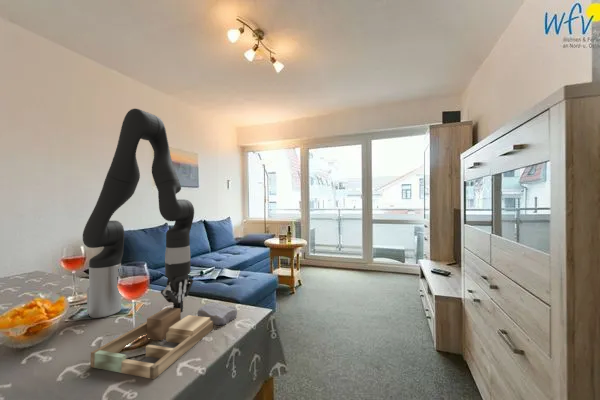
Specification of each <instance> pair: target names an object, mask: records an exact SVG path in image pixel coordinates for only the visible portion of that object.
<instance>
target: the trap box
mask: <svg viewBox="0 0 600 400" xmlns="http://www.w3.org/2000/svg"><path fill="white" fill-rule="evenodd" d="M213 330H214V324H213V321H210V317H201V316H198V315H193V314H192V315H191V314H188V315H186V316H184V317H183V318H181V320H180V321H178V322H177V323H175V324H174V325H172V326H171V327H169V331H168V332H167V333H166V338H165V343H164V344H163V345H161V346H160V345H155V344H147V345H146V346H145V358H143V359H142V360H134V359H129V358H127V354H124V353H121V352H122V351H121V350H122V349H123V348H124V347H125V346H126V345H128V344H129V343H131V342H132V341H134V340H135V339H137V338H138V337H140V336H143V335H146V334H147V321H144V322H143V323H141V324H139V325H138V326H136V327H135V328H132V329H130V330H129V331H127V332H126V333H123V334H122V335H119V336H118V337H116V338H114V339H112V340H111V341H109V342H107V343H105V344H103V345H102V346H100V347H98V348H97V349H95V350H93V351H91V352H90V368H94V369H100V370H105V371H110V372H115V373H121V374H126V375H130V376H136V377H142V378H147V379H152V380H156V378H158V377H159V376H160V375H161V374H162V373H163V372H165V370H167V369H168V368H169V367H170V366H171V365H173V364H174V363H175V362H176V361H178V360H179V359H180V358H181V357H182V356H183V355H184V354H186V353H187V352H188V351H189V350H191V348H193V347H194V346H195V345H197V343H199V341H201V340H202V339H203V338H204V337H206V335H208V334H209V333H210V332H212V331H213ZM166 341H167V342H166ZM120 351H121V352H120Z"/></svg>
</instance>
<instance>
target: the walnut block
mask: <svg viewBox="0 0 600 400" xmlns="http://www.w3.org/2000/svg"><path fill="white" fill-rule="evenodd" d="M181 314H182V312H181V309H180V308H173V307H165V308H163V309H161V310H160V311H158V312H156V313H154V314H153V315H151V316H148V317H147V318H146V322H147V336H146V339H147V338H150V339H153V340H152V341H158V340H162V341H163V339H164V340H166V333H167V332H168V331H169V327H171V326H172V325H174V324H175V323H177V322H178V321H180V320H182V318H181ZM150 339H149V340H150Z"/></svg>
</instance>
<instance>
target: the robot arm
mask: <svg viewBox="0 0 600 400" xmlns="http://www.w3.org/2000/svg"><path fill="white" fill-rule="evenodd" d="M121 124H122V125H121V128H120V132H119V136H118V141H117V146H116V147H115V152H114V155H113V158H112V161H111V164H110V166H109V169H108V171H107V174H106V177H105V179H104V181H103V184H102V185H103V186H102V188H101V191H100V193H99V196H98V199H97V201H96V204H95V206H94V208H93V210H92V212H91V214H90V216H89V218H88V220H87V222H86V224H85V225H84V228H83V232H82V243H83V244H84V245H85V246H86V247H87V248H89V249H95V248H96V249H97V248H103V249H102V250H101V251H100V252H99V253H98V254H96V255H95V256H93V257H91V258H90V259H89V262H88V264H89V265H88V275H89V276H88V287H87V289H86V296H87V297H86V305H87V306H86V314H89V315H88V317H89V316H90V318H93V319H96V318H104V317H108V316H113V315H115V314H118V312H120V311H121V310H122V293H121V294H120V293H119V291H118V288H117V277H118V269H119V267H120V266H121V267H122V259H123V255H124V245H125V244H124V243H125V229H124V225H123V224H122V223H121V222H120V221H119V220H111V218H112V217H113V215H114V214H115V213H116V212H117V211H118V209H119V208H121V207H122V206H123V205H124V204H126V202H128V201H129V199H131V198H132V196H134V194H135V192H136V189H137V187H138V184H139V181H140V178H141V175H140V173H141V172H140V168H139V164H138V161H137V149H138V146H139V142H140V141H141V140H144V141H148V142H149V143H150V145H151V148H152V151H153V160H152V164H151V175H152V178H153V181H154V184H155V186H156V189H157V193H158V209H159V214H160V215H161V217H162V218H163V219H164V220H165V221H167V222H174V226H172V228H169V229H167V230H166V231H165V232H166V233H165V252H164V261H165V262H164V272H165V273H164V274H165V275H164V276H166V279H167V280H166V287H165V288H164V289H162V290H161V291H160V294H161V295H162V297H163V298H164V299H165V300H166V301H167V303H173V306H172V308H180V309H181V313H183V311H184V301H185V298H187V297H188V295H189V294H190V293H189V292H190V291H191V288H192V286H193V283H194V279H191V278H189V275H190V274H191V264H192V263H191V248H190V247H191V246H190V245H191V244H190V241H191V239H190V233H191V230H192V225H193V222H194V217H195V208H194V205H193V203H192V202H191V201H190V200H188V199H178V198H177V194H179V192H181V190H182V186H181V182H180V179H179V177H178V175H177V172H176V169H175V167H174V163H173V159H172V156H171V150H170V145H169V141H168V136H167V130H166V126H165V124H164V121H163V120H162V118H161V117H159V116H157V115H156V114H152V113H150V112H147V111H145V110H142V109H139V108H131V109H129V110H128V111H127V113H126V114H125V116H124V118H123V121H122V123H121Z"/></svg>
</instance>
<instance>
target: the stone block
mask: <svg viewBox="0 0 600 400" xmlns="http://www.w3.org/2000/svg"><path fill="white" fill-rule="evenodd" d="M237 315H238V310H237V307H234V306H232V305H231V306H226V305H224V304H222V303H218V302H211V303H207V304H205V305H203V306H201V307H200V308H199V309H198V311H197V315H196V316H201V317H210V321H213V326H214V325H215V326H220V327H221V326H222V327H223V326H224V325H226V324H228V323H229V322H230V321H232V320H234V319H236V317H237Z"/></svg>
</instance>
